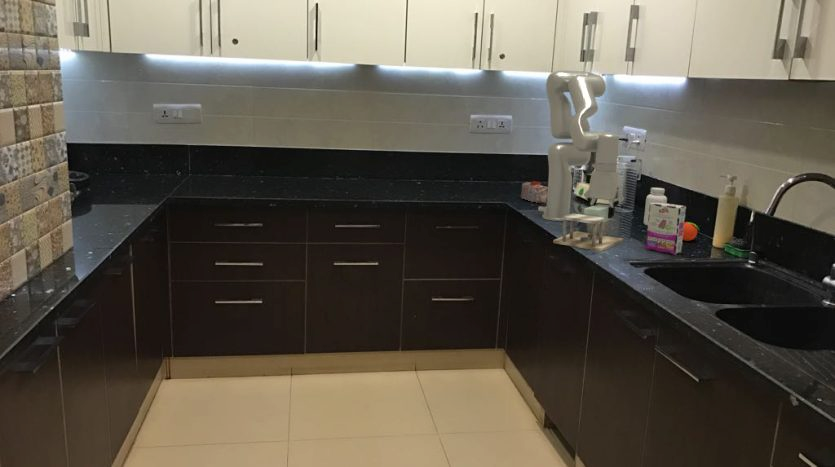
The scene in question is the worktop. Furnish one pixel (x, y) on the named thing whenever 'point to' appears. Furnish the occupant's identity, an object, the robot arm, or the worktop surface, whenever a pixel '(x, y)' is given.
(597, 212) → the pale green block
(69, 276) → the worktop surface
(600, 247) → the overhang stand
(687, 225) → the clementine
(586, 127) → the robot arm
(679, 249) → the candy bar box
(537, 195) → the food item
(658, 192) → the pill bottle
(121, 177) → the worktop surface
